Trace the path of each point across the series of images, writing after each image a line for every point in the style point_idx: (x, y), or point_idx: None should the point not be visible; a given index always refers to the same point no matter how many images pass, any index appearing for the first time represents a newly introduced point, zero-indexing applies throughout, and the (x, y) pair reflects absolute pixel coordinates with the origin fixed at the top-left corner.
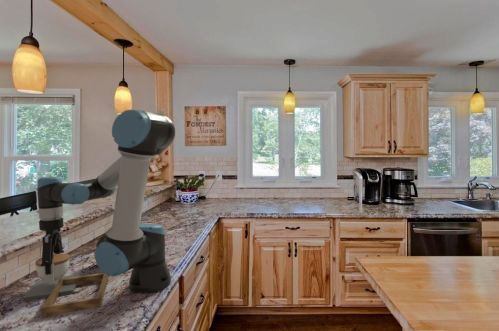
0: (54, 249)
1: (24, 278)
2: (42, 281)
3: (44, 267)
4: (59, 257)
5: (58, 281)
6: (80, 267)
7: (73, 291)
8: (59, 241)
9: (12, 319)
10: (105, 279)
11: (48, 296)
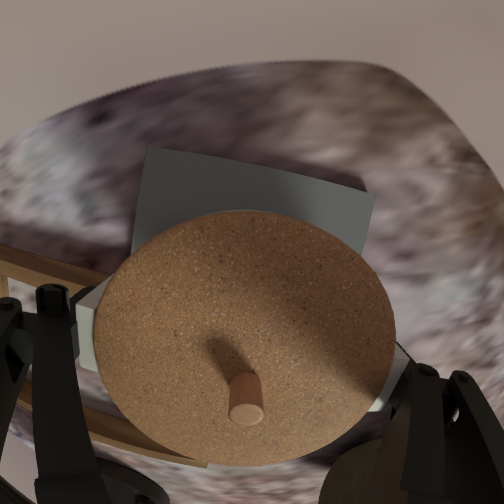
0: (403, 410)
1: (459, 143)
2: (341, 219)
3: (86, 299)
4: (223, 425)
5: None
6: (429, 359)
7: None
8: (449, 478)
9: (22, 151)
10: (130, 451)
11: None
